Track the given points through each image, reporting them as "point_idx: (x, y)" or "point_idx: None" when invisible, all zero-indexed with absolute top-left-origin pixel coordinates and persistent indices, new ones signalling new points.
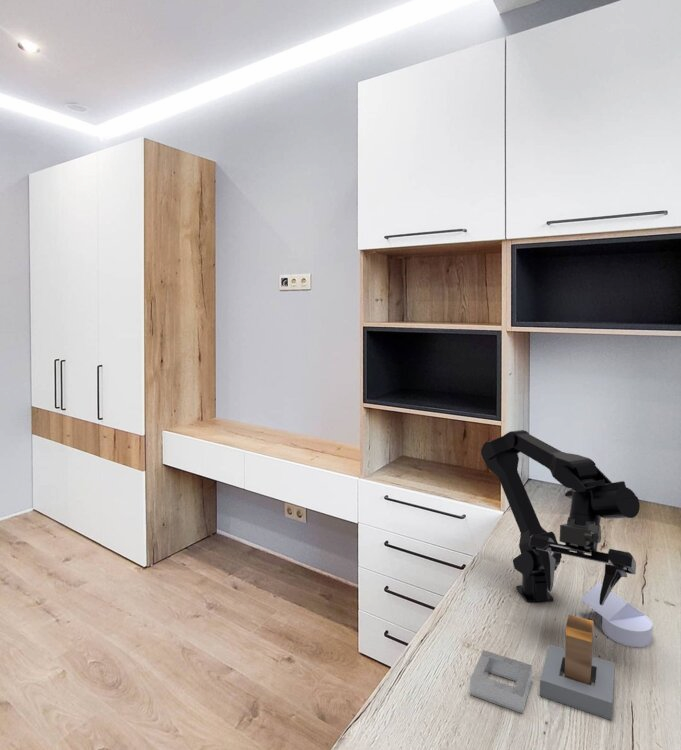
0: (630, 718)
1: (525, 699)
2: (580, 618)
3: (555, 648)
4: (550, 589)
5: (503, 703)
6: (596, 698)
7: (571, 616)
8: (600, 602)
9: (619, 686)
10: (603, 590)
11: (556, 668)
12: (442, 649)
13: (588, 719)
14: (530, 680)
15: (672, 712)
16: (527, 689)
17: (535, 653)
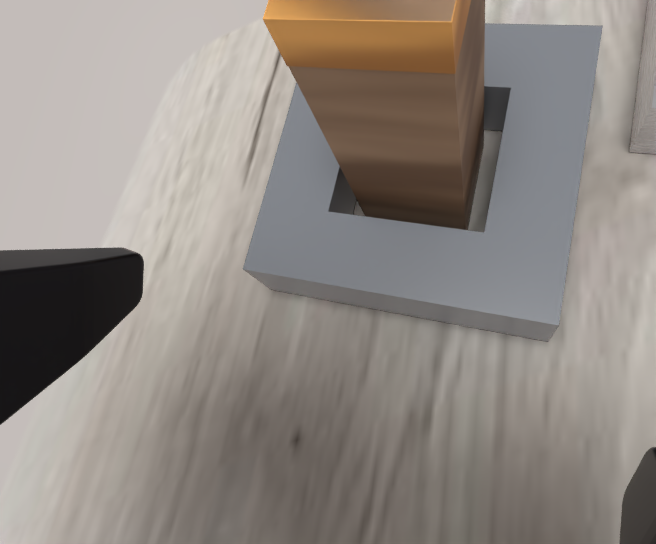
0: (270, 99)
1: (651, 1)
2: (356, 12)
3: (522, 294)
4: (648, 465)
5: None
6: None
7: (428, 5)
8: (127, 253)
9: None
10: (4, 257)
11: (521, 131)
12: None
13: None
14: (640, 101)
15: (134, 177)
16: (651, 30)
17: (623, 369)
